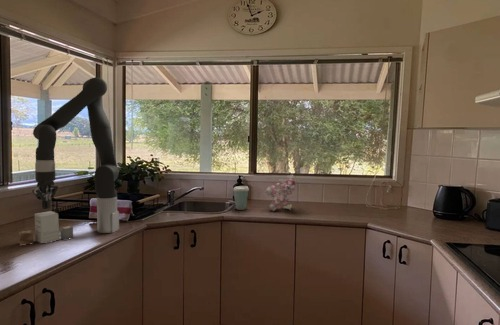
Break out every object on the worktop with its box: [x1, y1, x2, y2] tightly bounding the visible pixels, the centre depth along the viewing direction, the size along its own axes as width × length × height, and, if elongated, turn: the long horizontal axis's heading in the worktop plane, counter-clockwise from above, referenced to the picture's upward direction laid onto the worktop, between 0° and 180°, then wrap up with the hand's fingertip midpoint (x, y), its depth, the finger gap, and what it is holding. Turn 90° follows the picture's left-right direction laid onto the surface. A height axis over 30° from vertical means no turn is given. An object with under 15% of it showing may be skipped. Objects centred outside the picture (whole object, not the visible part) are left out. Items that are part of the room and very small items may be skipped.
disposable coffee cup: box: [232, 185, 250, 211], centre depth 222 cm, size 11×11×15 cm
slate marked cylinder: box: [60, 225, 74, 240], centre depth 154 cm, size 5×5×5 cm
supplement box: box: [34, 210, 60, 244], centre depth 149 cm, size 7×7×13 cm
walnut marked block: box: [18, 229, 35, 246], centre depth 145 cm, size 5×5×5 cm
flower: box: [264, 172, 297, 212], centre depth 224 cm, size 20×22×25 cm
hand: (46, 208), depth 149 cm, fingers closed
